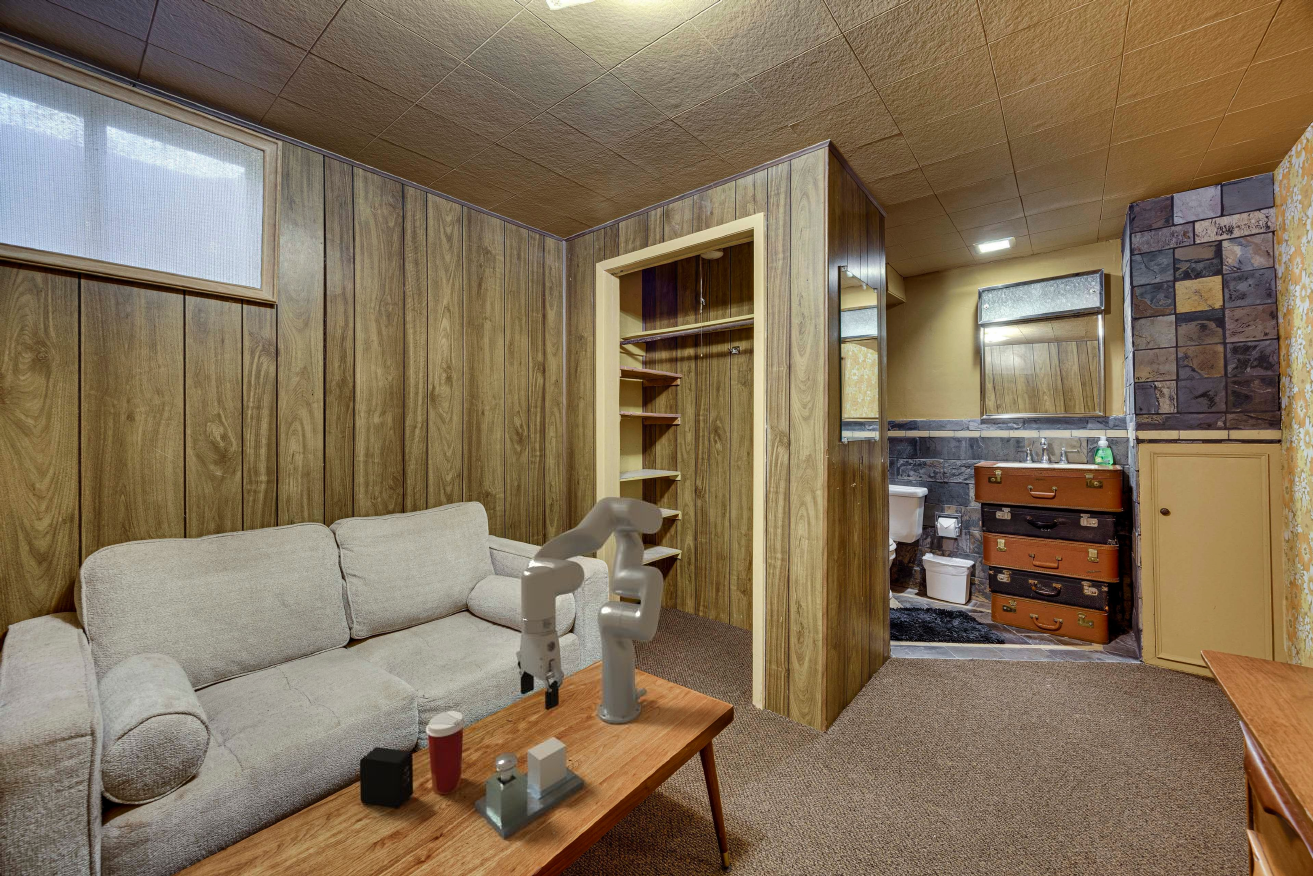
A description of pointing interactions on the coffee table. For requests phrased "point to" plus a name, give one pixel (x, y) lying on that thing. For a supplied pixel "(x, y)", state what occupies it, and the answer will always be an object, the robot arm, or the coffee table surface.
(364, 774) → the electronic device
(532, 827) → the coffee table surface
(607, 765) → the coffee table surface
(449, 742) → the coffee cup
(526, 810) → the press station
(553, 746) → the block
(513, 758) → the pin
